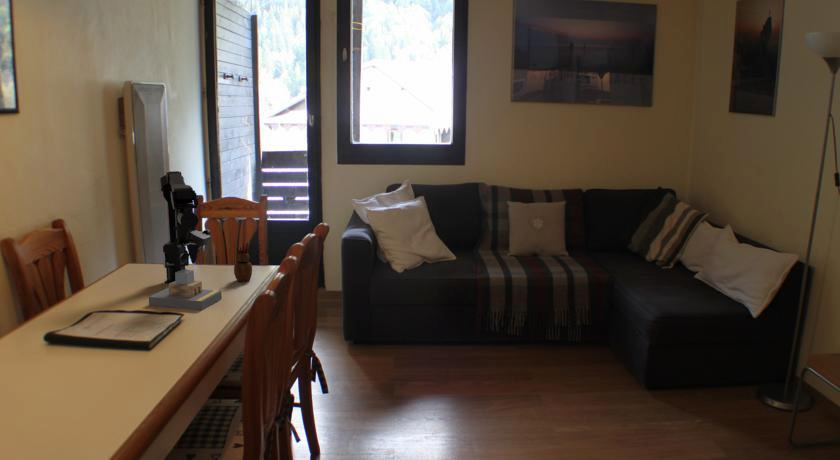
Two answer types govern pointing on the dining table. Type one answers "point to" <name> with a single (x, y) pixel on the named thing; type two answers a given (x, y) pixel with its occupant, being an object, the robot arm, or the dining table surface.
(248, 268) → the brown vase with sticks
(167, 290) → the dock
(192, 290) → the pallet
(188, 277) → the grey cube
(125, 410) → the dining table surface
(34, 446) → the dining table surface
